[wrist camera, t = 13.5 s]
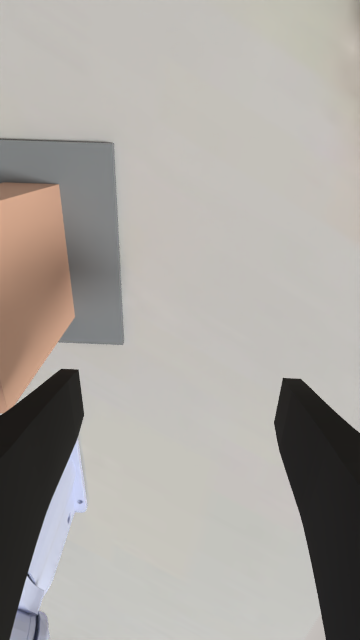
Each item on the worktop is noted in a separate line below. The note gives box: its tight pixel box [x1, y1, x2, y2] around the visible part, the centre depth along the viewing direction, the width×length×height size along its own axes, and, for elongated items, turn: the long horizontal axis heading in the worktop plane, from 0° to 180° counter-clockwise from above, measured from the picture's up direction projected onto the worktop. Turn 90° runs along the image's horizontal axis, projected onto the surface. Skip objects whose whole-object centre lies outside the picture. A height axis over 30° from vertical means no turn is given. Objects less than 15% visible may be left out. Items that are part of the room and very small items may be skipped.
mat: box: [0, 140, 124, 345], centre depth 21 cm, size 12×9×1 cm
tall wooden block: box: [0, 182, 75, 413], centre depth 16 cm, size 8×3×9 cm, turn 178°
